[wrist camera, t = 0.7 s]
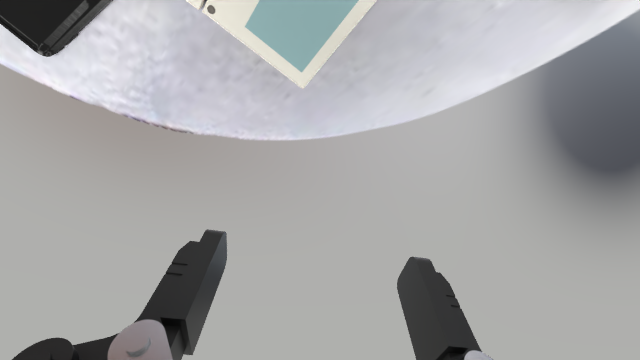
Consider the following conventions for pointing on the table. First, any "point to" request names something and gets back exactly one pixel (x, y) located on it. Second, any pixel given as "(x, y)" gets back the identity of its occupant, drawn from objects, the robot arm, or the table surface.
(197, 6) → the brown cream block
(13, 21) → the phone
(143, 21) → the table surface
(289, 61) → the ticket pad
